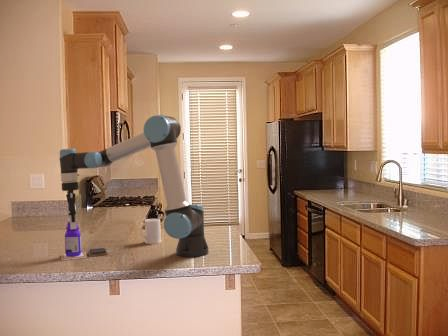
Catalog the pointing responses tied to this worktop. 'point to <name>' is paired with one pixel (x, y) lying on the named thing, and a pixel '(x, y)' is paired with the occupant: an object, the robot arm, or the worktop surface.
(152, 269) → the worktop surface
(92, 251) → the ink pad
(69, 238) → the bottle
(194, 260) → the worktop surface
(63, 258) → the print board
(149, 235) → the mug
